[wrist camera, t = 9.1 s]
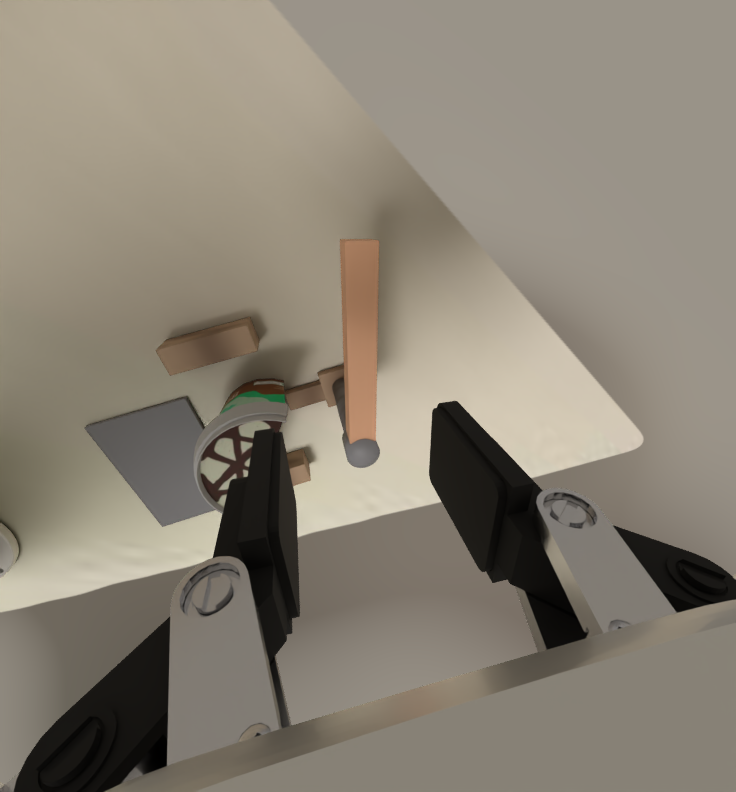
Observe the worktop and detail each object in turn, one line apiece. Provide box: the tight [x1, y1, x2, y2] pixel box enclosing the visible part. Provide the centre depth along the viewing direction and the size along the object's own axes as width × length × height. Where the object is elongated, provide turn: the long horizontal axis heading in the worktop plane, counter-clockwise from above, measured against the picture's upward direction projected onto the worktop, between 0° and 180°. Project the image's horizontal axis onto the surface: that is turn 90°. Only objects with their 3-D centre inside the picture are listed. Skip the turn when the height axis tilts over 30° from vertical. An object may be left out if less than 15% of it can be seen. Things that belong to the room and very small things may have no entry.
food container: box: [194, 379, 288, 514], centre depth 32 cm, size 12×6×10 cm, turn 157°
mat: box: [85, 397, 215, 527], centre depth 37 cm, size 10×15×1 cm, turn 12°
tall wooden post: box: [340, 239, 380, 468], centre depth 24 cm, size 16×3×2 cm, turn 0°
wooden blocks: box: [156, 317, 346, 486], centre depth 32 cm, size 16×19×10 cm
